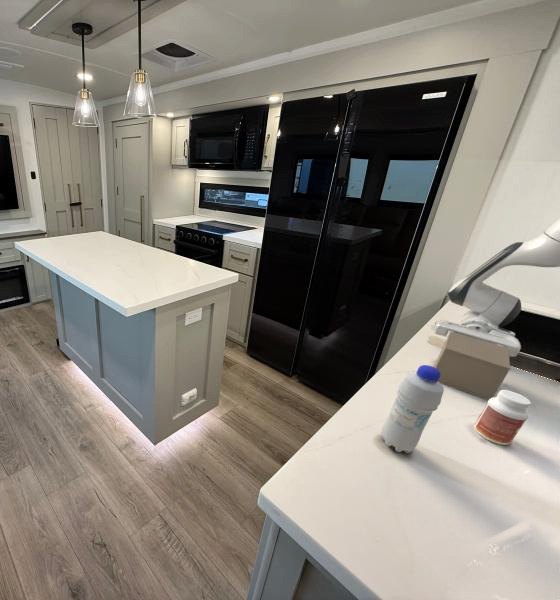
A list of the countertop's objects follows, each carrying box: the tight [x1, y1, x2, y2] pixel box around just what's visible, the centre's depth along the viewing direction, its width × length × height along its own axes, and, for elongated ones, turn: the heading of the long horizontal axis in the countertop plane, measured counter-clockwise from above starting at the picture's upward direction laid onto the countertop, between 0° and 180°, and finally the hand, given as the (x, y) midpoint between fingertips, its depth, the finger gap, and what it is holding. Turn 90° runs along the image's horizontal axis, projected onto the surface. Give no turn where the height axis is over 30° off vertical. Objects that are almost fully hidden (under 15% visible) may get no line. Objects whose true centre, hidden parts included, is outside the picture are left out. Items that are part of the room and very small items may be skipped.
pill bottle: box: [473, 389, 532, 446], centre depth 69 cm, size 6×6×11 cm
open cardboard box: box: [433, 331, 511, 402], centre depth 88 cm, size 15×13×11 cm
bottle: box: [380, 364, 445, 454], centre depth 63 cm, size 7×7×20 cm
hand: (472, 345), depth 97 cm, fingers open, 8 cm apart
